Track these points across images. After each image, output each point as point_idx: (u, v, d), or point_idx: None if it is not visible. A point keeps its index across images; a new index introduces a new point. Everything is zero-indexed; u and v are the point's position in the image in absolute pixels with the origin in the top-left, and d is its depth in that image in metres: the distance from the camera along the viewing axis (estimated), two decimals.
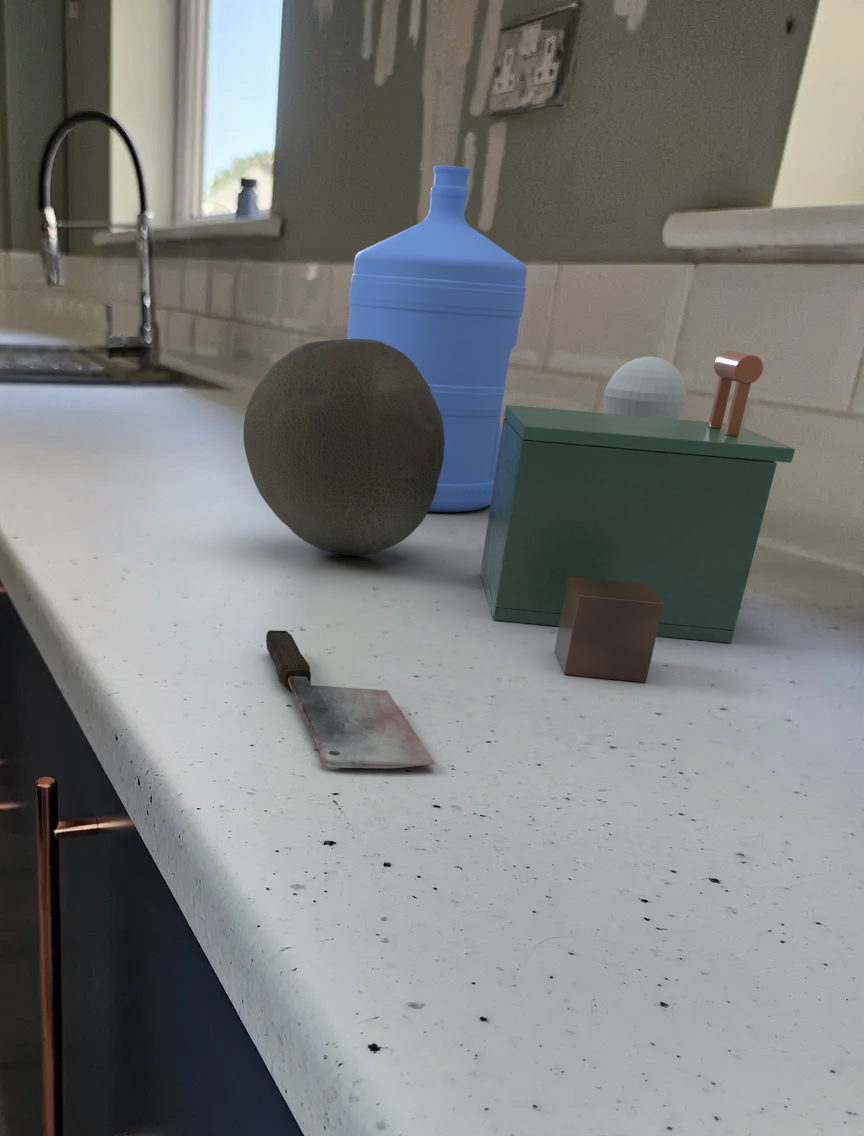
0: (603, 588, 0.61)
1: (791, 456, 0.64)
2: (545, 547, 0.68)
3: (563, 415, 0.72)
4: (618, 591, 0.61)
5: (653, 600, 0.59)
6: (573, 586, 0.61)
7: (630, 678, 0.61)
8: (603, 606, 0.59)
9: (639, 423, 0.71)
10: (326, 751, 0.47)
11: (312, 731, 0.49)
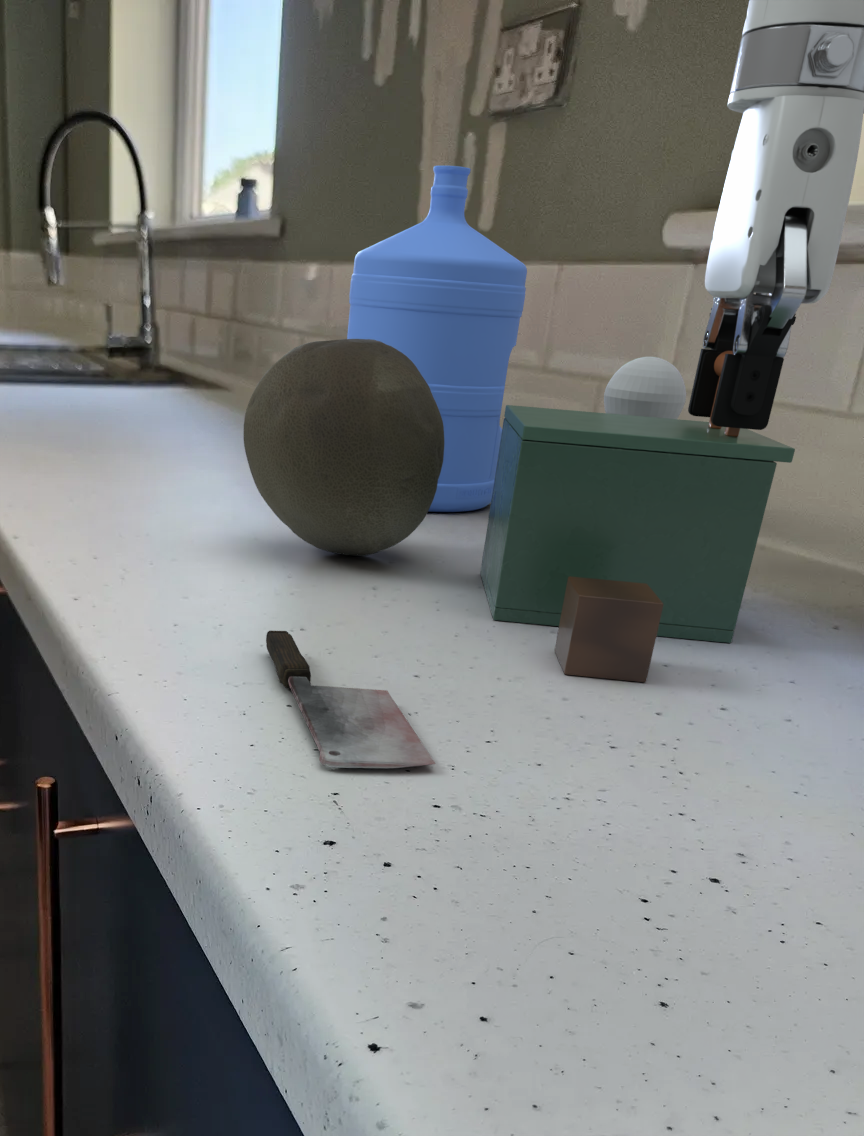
0: (603, 588, 0.61)
1: (791, 456, 0.64)
2: (545, 547, 0.68)
3: (563, 415, 0.72)
4: (618, 591, 0.61)
5: (653, 600, 0.59)
6: (573, 586, 0.61)
7: (630, 678, 0.61)
8: (603, 606, 0.59)
9: (639, 423, 0.71)
10: (326, 751, 0.47)
11: (312, 731, 0.49)
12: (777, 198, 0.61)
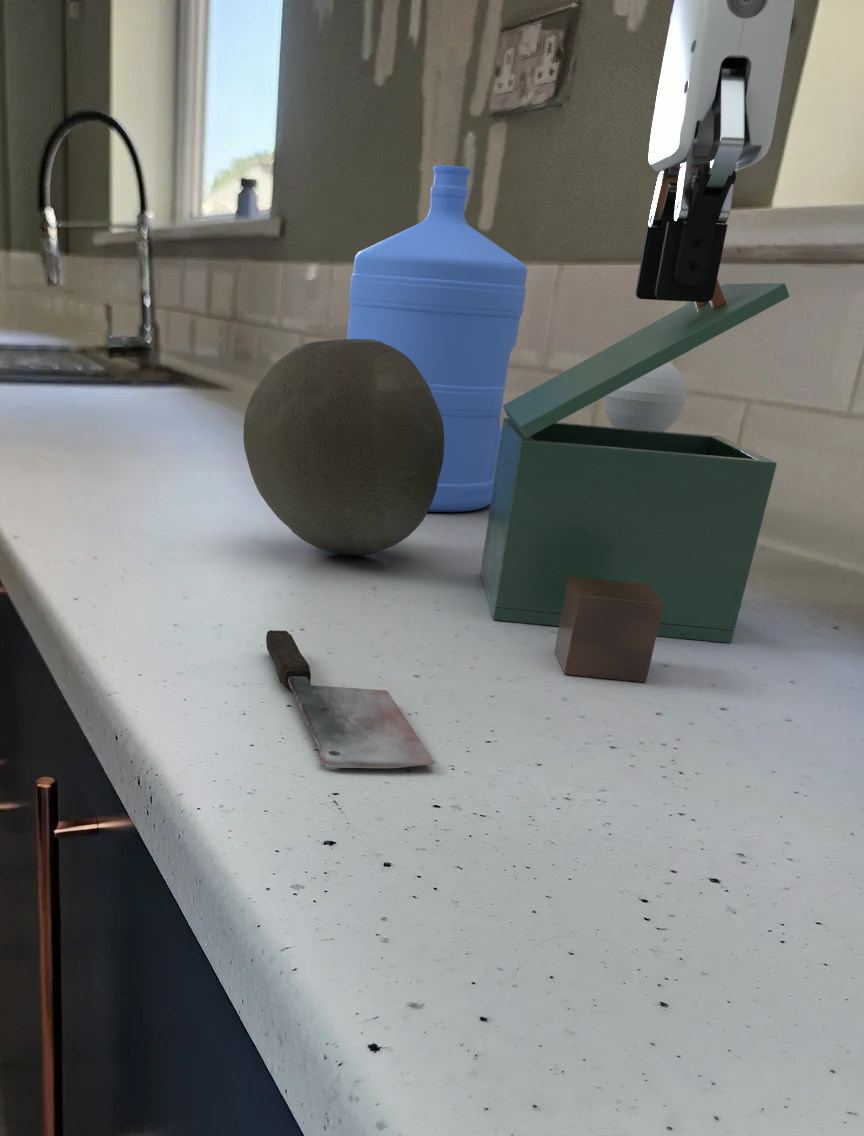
0: (603, 588, 0.61)
1: (785, 291, 0.61)
2: (545, 547, 0.68)
3: (556, 385, 0.72)
4: (618, 591, 0.61)
5: (653, 600, 0.59)
6: (573, 586, 0.61)
7: (630, 678, 0.61)
8: (603, 606, 0.59)
9: (628, 348, 0.69)
10: (326, 751, 0.47)
11: (312, 731, 0.49)
12: (712, 48, 0.58)
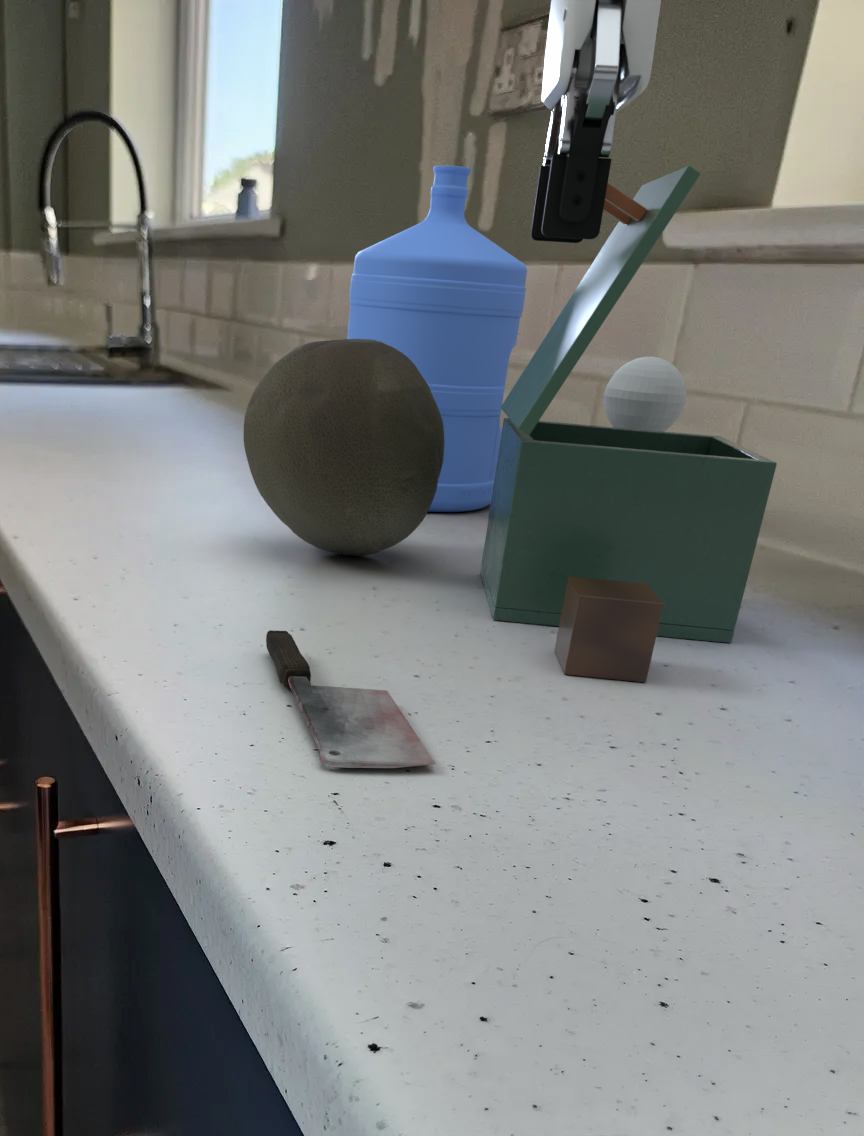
0: (603, 588, 0.61)
1: (694, 171, 0.59)
2: (545, 547, 0.68)
3: (535, 366, 0.71)
4: (618, 591, 0.61)
5: (653, 600, 0.59)
6: (573, 586, 0.61)
7: (630, 678, 0.61)
8: (603, 606, 0.59)
9: (582, 297, 0.69)
10: (326, 751, 0.47)
11: (312, 731, 0.49)
12: None
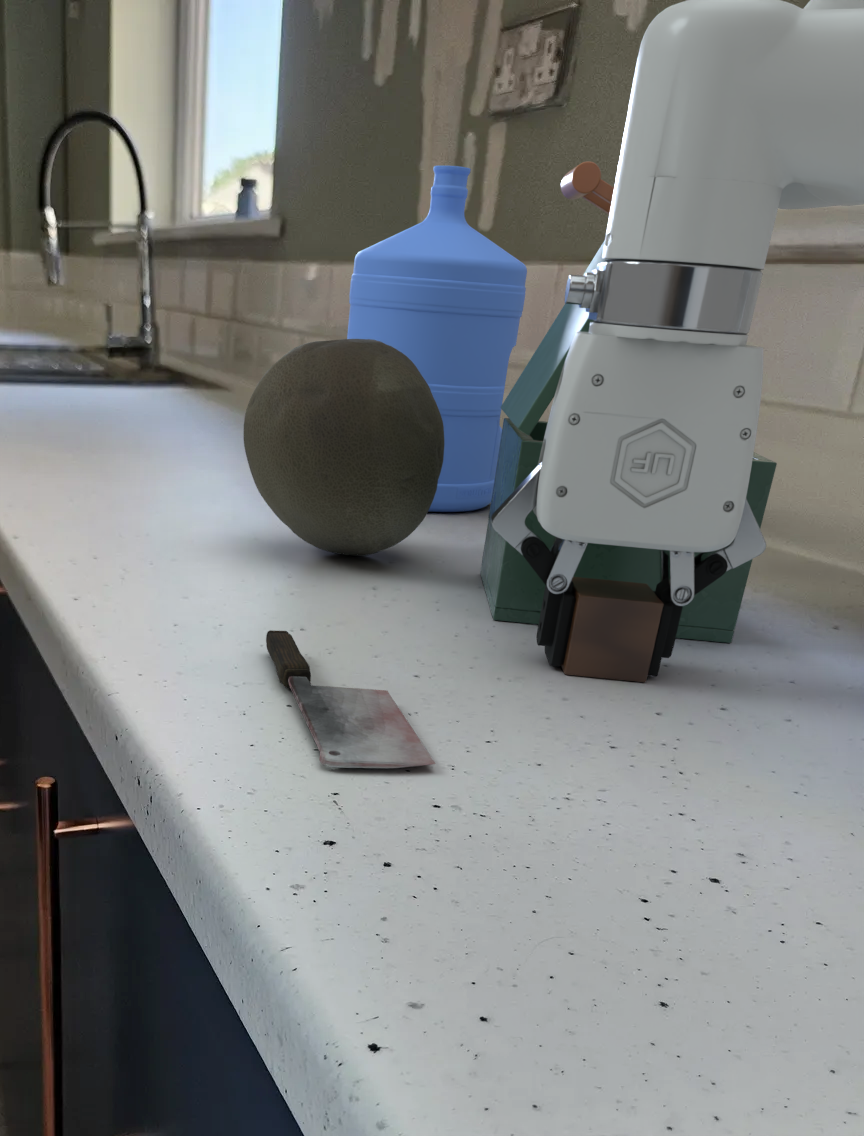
0: (603, 588, 0.61)
1: None
2: None
3: (535, 366, 0.71)
4: (618, 591, 0.61)
5: (653, 600, 0.59)
6: (573, 586, 0.61)
7: (630, 678, 0.61)
8: (603, 606, 0.59)
9: None
10: (326, 751, 0.47)
11: (312, 731, 0.49)
12: None
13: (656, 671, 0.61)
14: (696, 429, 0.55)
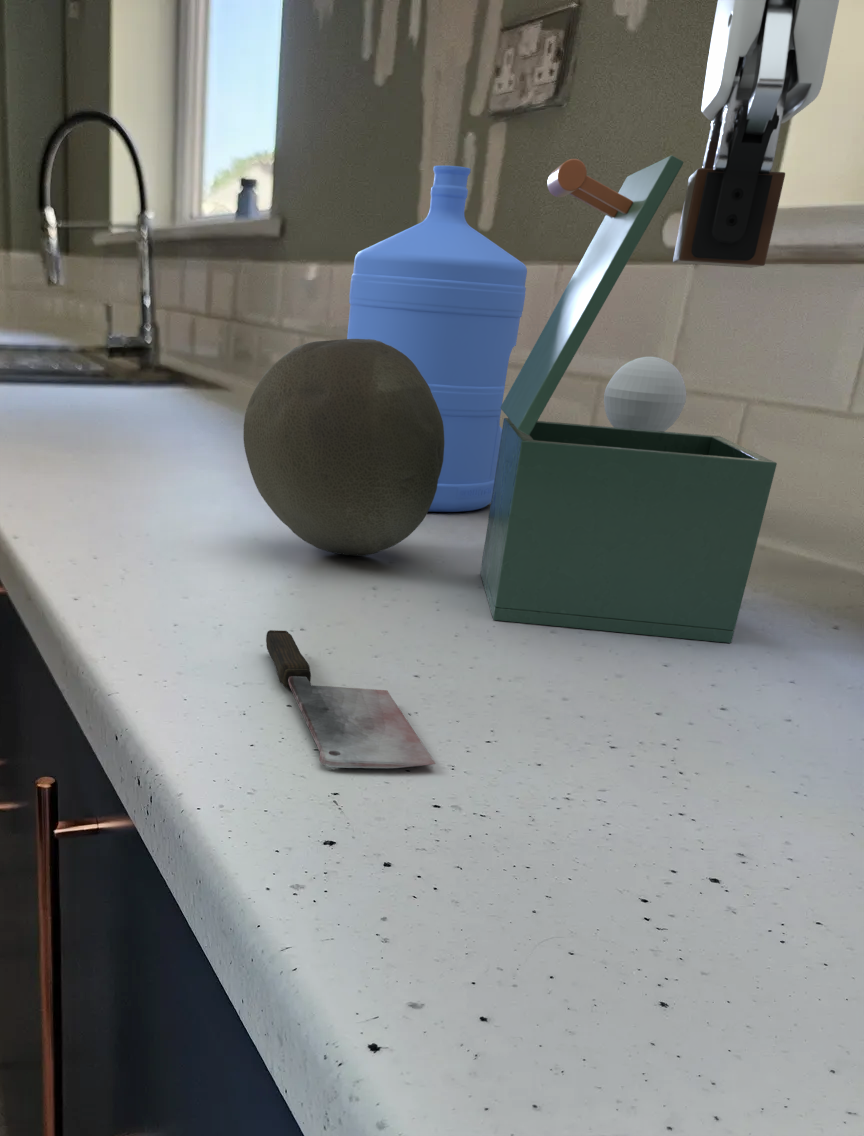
0: None
1: (677, 161, 0.59)
2: (545, 547, 0.68)
3: (532, 365, 0.71)
4: None
5: None
6: None
7: None
8: None
9: (574, 293, 0.69)
10: (326, 751, 0.47)
11: (312, 731, 0.49)
12: None
13: None
14: None
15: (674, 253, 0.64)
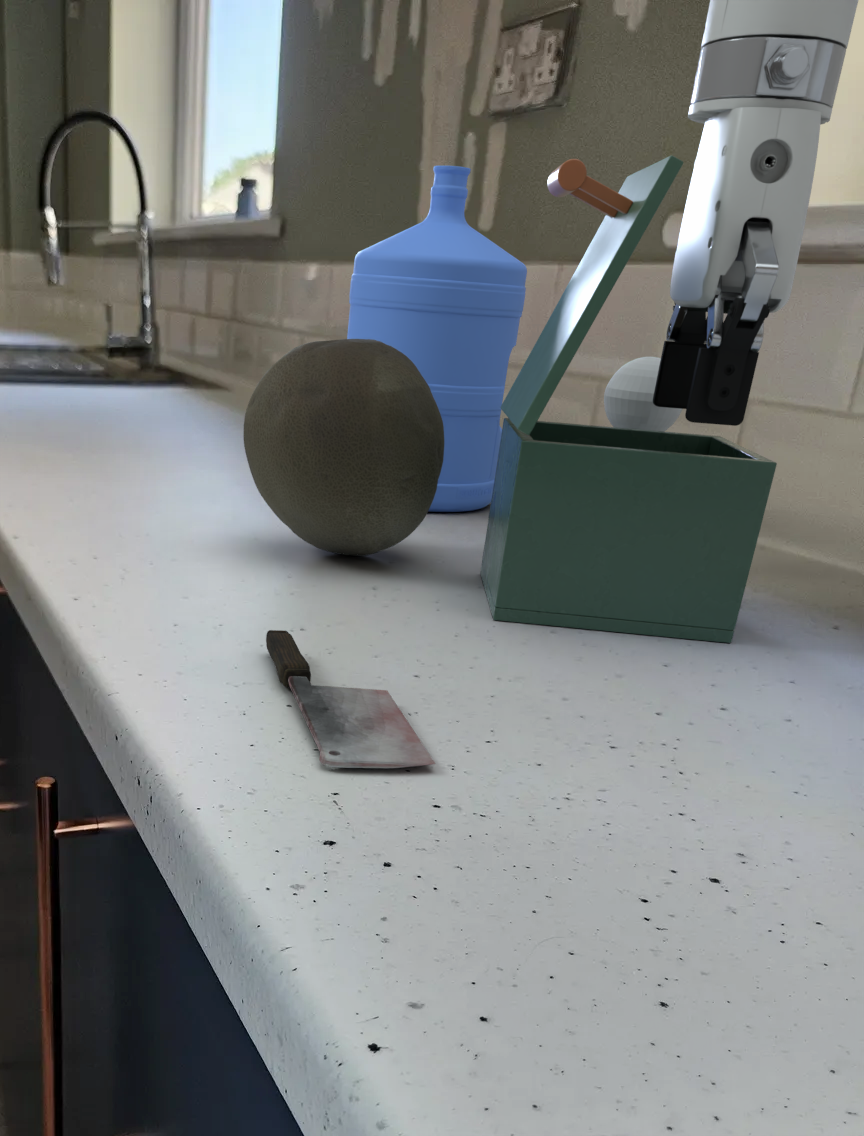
0: None
1: (677, 161, 0.59)
2: (545, 547, 0.68)
3: (532, 365, 0.71)
4: None
5: None
6: None
7: None
8: None
9: (574, 293, 0.69)
10: (326, 751, 0.47)
11: (312, 731, 0.49)
12: (736, 209, 0.61)
13: None
14: None
15: None
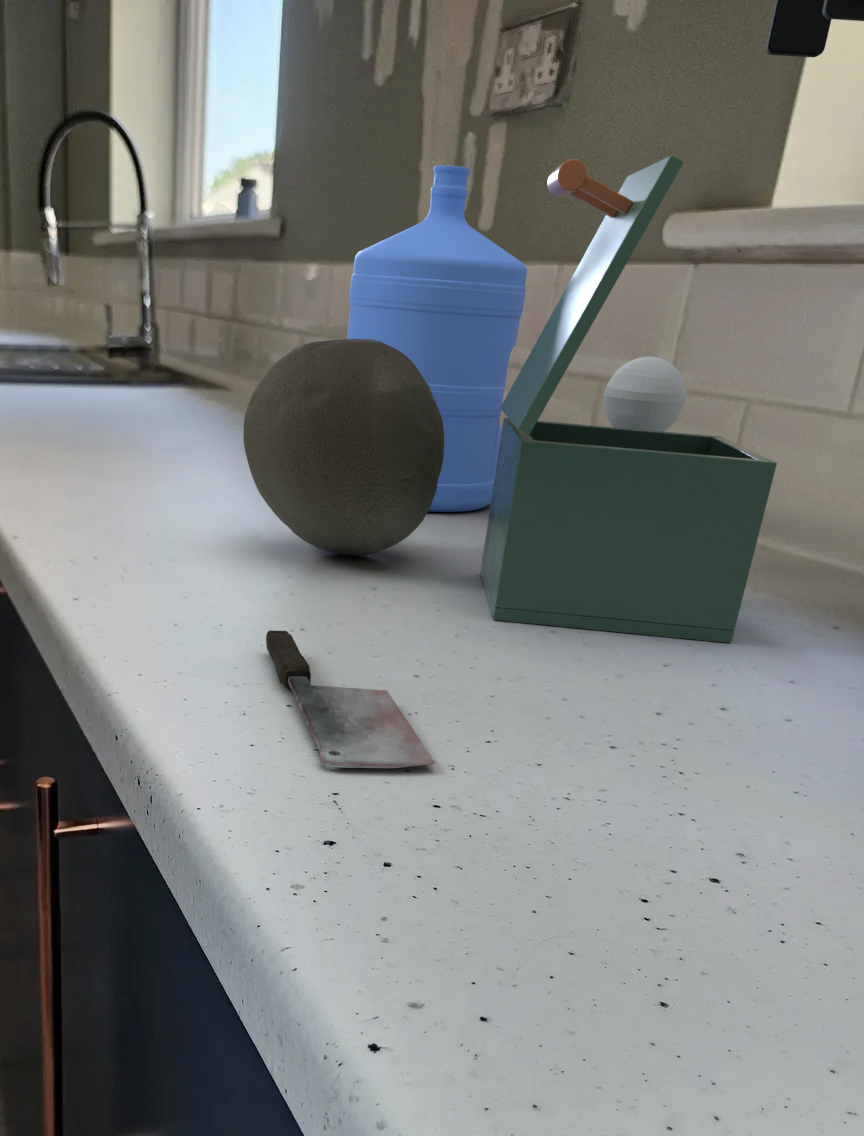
0: None
1: (677, 161, 0.59)
2: (545, 547, 0.68)
3: (532, 365, 0.71)
4: None
5: None
6: None
7: None
8: None
9: (574, 293, 0.69)
10: (326, 751, 0.47)
11: (312, 731, 0.49)
12: None
13: None
14: None
15: None
